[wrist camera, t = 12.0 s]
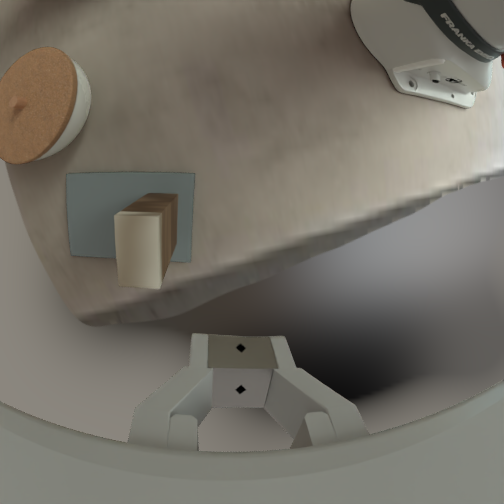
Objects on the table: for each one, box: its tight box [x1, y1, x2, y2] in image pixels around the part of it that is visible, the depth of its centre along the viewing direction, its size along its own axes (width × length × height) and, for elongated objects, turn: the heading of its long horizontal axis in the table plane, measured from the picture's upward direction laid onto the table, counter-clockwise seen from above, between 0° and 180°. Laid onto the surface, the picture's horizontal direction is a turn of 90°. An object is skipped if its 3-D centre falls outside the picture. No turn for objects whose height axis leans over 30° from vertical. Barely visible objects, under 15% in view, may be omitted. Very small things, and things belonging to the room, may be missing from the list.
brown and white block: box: [114, 193, 178, 289], centre depth 22 cm, size 3×5×10 cm, turn 174°
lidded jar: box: [0, 47, 91, 164], centre depth 17 cm, size 11×11×9 cm
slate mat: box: [66, 172, 195, 262], centre depth 26 cm, size 14×9×1 cm, turn 84°
